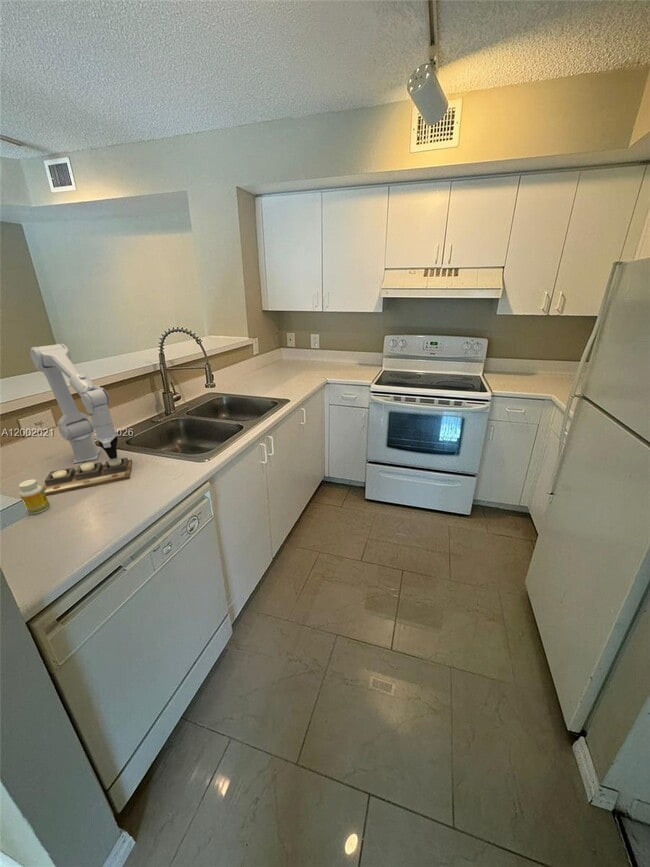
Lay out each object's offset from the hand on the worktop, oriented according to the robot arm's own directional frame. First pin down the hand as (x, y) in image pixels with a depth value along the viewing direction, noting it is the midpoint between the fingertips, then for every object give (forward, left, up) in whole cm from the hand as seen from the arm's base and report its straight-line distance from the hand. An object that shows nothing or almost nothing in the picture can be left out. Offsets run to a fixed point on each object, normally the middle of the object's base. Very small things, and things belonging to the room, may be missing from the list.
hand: (113, 458), depth 121 cm
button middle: (0, -8, -3) cm, 9 cm away
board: (+1, -9, -5) cm, 10 cm away
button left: (0, -17, -4) cm, 17 cm away
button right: (0, 0, -3) cm, 3 cm away
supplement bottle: (+16, -20, -6) cm, 26 cm away
